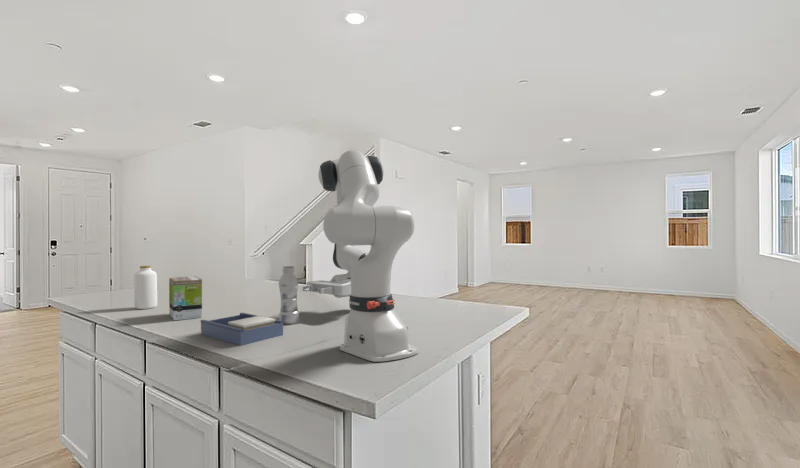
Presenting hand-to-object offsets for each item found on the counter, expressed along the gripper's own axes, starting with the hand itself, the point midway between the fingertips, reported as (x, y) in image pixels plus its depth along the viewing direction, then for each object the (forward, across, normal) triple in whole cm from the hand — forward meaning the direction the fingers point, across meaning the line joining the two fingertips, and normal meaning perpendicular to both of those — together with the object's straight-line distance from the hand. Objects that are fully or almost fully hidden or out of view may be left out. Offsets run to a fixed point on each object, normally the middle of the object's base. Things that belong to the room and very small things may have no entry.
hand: (311, 290), depth 150 cm
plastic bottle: (+10, 0, +11) cm, 15 cm away
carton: (+28, +8, +10) cm, 31 cm away
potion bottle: (+29, -77, +11) cm, 83 cm away
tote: (+28, +2, +11) cm, 30 cm away
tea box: (+25, -45, +11) cm, 53 cm away
